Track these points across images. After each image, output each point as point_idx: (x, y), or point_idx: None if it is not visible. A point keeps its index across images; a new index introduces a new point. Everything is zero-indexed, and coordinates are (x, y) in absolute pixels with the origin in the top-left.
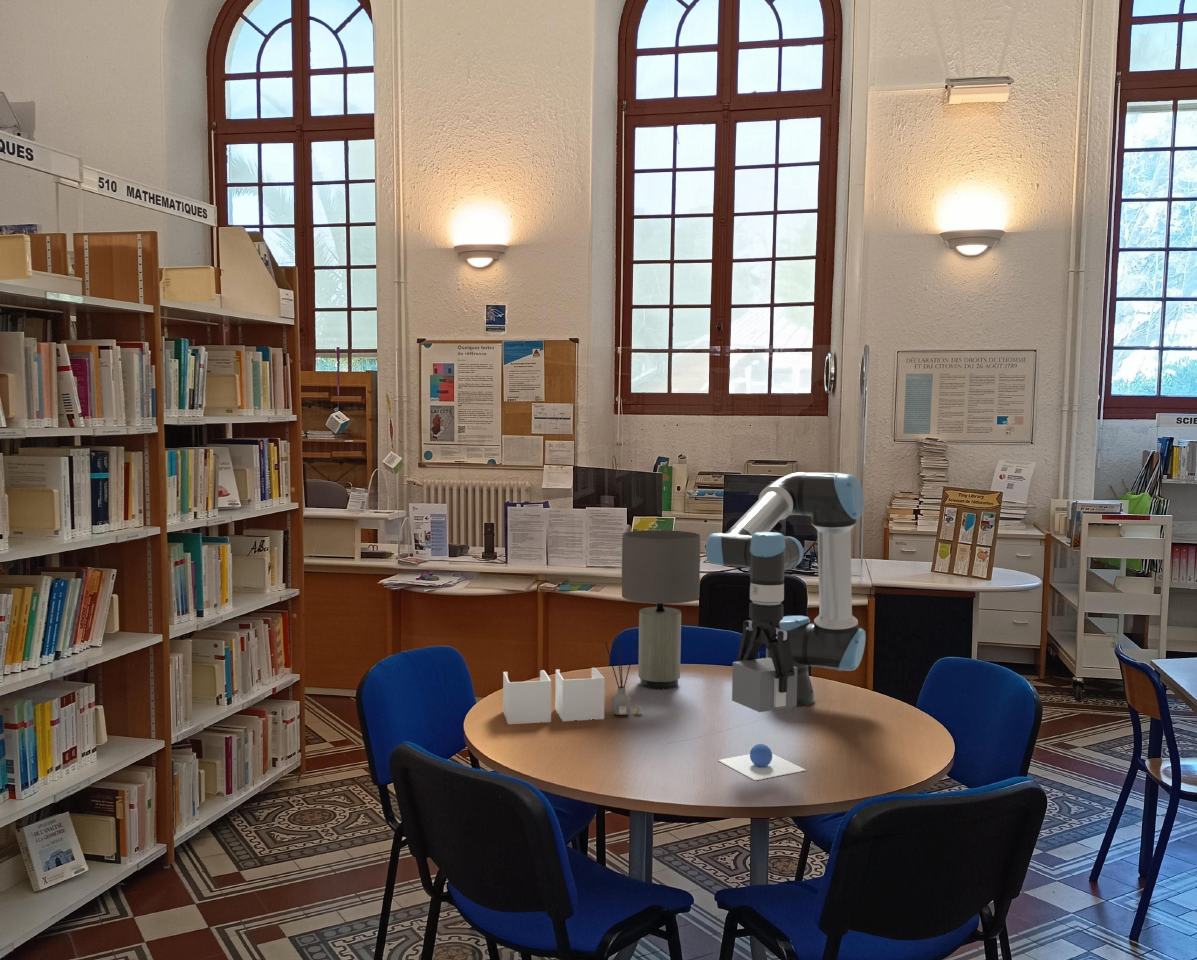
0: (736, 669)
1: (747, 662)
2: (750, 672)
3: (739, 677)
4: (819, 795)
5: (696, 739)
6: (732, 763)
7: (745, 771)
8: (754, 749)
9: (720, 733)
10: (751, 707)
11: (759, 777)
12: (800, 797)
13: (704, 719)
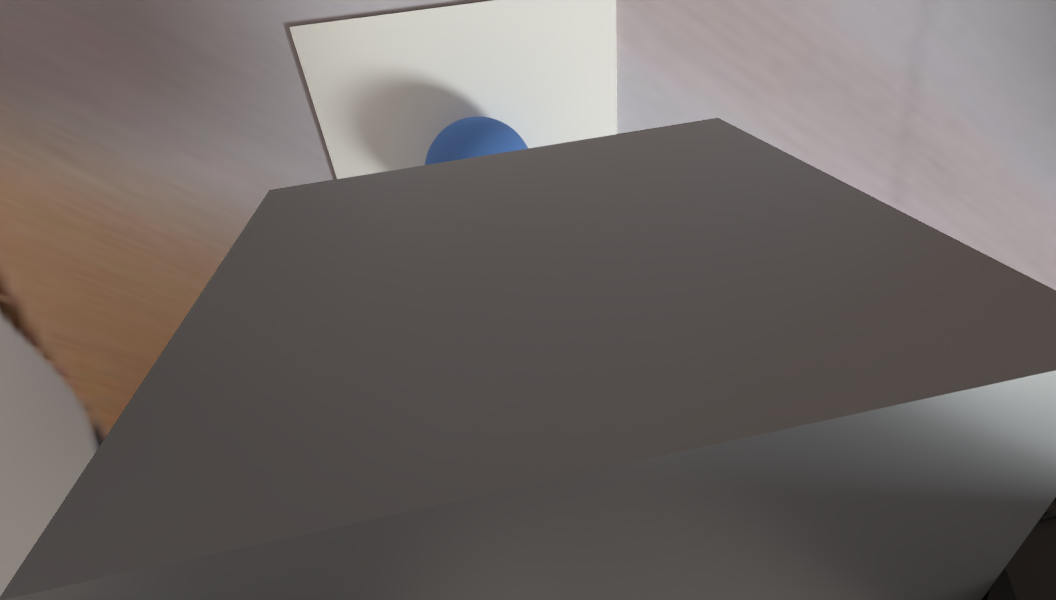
0: (905, 296)
1: (906, 555)
2: (448, 423)
3: (738, 253)
4: (70, 229)
5: (899, 39)
6: (544, 36)
7: (421, 43)
8: (477, 143)
9: (880, 184)
10: (404, 172)
11: (323, 70)
12: (34, 136)
13: (1031, 199)
